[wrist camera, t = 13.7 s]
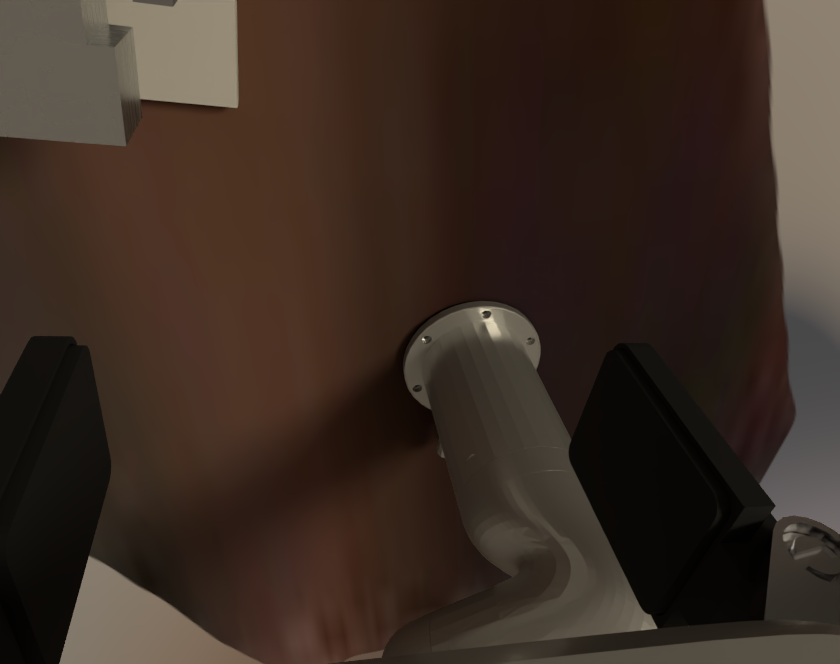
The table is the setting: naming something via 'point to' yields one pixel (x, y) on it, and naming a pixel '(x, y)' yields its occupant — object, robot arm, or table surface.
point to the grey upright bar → (67, 73)
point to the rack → (183, 48)
